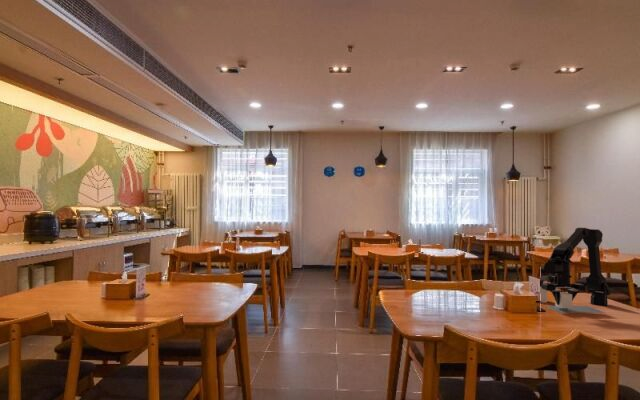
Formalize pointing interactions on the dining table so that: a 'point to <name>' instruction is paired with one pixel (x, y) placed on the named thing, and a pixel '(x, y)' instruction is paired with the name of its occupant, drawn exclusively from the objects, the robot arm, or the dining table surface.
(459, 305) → the dining table surface
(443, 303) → the dining table surface
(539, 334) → the dining table surface
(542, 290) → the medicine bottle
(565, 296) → the white rectangular block
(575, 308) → the board
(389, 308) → the dining table surface
